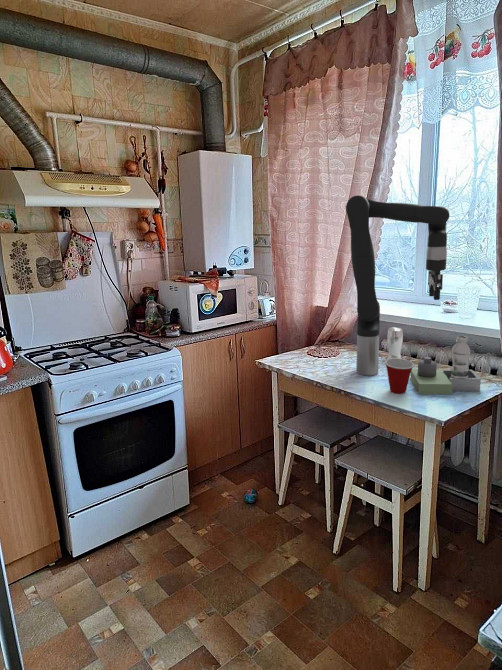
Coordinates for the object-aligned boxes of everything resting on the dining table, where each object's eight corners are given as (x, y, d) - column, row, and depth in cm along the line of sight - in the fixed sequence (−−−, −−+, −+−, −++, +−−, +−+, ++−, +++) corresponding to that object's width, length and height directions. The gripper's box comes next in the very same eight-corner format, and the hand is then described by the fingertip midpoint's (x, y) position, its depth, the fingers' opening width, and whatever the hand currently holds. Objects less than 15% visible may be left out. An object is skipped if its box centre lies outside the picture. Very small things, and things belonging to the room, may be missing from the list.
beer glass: (403, 358, 219) (404, 328, 216) (399, 362, 214) (400, 331, 210) (389, 356, 223) (389, 326, 219) (384, 360, 217) (385, 330, 214)
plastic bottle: (470, 389, 178) (473, 339, 173) (451, 388, 179) (454, 339, 175) (466, 383, 184) (469, 335, 179) (448, 383, 185) (451, 335, 181)
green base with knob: (418, 393, 176) (419, 366, 173) (410, 378, 193) (411, 352, 190) (451, 394, 174) (453, 366, 171) (440, 378, 191) (441, 352, 188)
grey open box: (449, 390, 177) (450, 378, 176) (442, 381, 188) (443, 369, 186) (479, 391, 175) (480, 378, 174) (471, 381, 186) (472, 369, 185)
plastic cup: (403, 398, 172) (404, 368, 169) (378, 391, 180) (379, 362, 177) (418, 391, 179) (419, 361, 176) (393, 384, 187) (394, 356, 184)
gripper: (423, 256, 192) (421, 295, 196) (430, 260, 178) (428, 301, 182) (442, 256, 191) (439, 295, 194) (450, 259, 177) (448, 300, 181)
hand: (434, 297), depth 188 cm, fingers open, 8 cm apart
